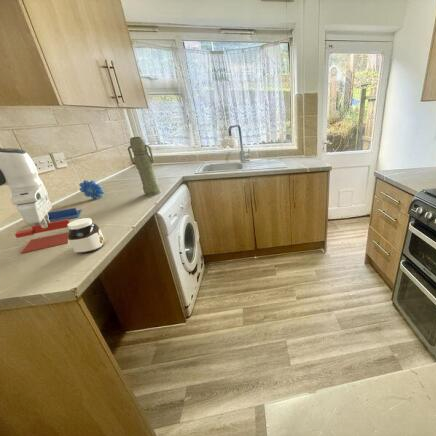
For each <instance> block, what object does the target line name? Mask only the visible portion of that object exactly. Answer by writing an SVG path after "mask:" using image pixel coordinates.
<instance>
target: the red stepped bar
mask: <svg viewBox="0 0 436 436" xmlns="http://www.w3.org/2000/svg"><path fill="white" fill-rule="evenodd" d="M70 222H71V221H70V219H65V220H60V221H54V222H49V223H48V225H49V226H48V227H47V228H42V227H41V225H40V224H38V225H35V224H32V225H31V227H30V228H26V229H21V230H18V231H16V233H15V234H14V235H15V238H16V239H19V238H25V237H29V236H33V235H36V234H40V233H44V232H45V233H46V232H49V231H56V230H60V229H66V228H68V226H67V225H68V224H69V223H70Z"/></svg>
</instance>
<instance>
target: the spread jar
mask: <svg viewBox="0 0 436 436" xmlns="http://www.w3.org/2000/svg"><path fill="white" fill-rule="evenodd" d="M67 226H68V227H67V228H68V229H69V230H68V232H69V233H68V243H67V244H68V246H69V247H71V248H72V250H73V252H74V253H76V254H79V255H86V254H91V253H94V252H97V251H99V250H101V249H102V248H103V247H104V245H105V237H104V235H103V232H102V230H101V228H100V226H99V225H97V224H96V223H94V222H93V221H92V219H91V218H90V217H84V218H79V219H78V218H77V219H75V220H73V221H70V223H69V224H68V225H67Z"/></svg>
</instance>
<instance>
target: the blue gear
mask: <svg viewBox="0 0 436 436" xmlns="http://www.w3.org/2000/svg"><path fill="white" fill-rule="evenodd" d="M78 186H79V191H80V192H81V193H83V195H84V196H85V197H87V198H91V199H93V200H96V199H100V198H102V197H103V194H105V191H104V190H103V189H102V185H101V184H99V183H98V184H97V182H96V181H94V180H90V181H89V180H87V179H84V180H83V181H82V182H79V184H78Z"/></svg>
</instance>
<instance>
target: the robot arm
mask: <svg viewBox="0 0 436 436" xmlns="http://www.w3.org/2000/svg"><path fill="white" fill-rule="evenodd" d="M3 186H7V187H9V190H10V191H11V198H10V202H11V203H12V205H13V206H16V209H17V212H18V213H19V215H20V216H21V218H22V219H23V221H24V223H26V224H27V225H35V224H36V223H39V224H40V225H41V227H42V228H47V227H48V226H49V225H48V223H49V222H50V221H49V216H48V212H51V210H52V208H53V203H52V202H51V199H50V198H49V196H48V195H49V193H48V190H47V188H46V186H45V183H44V182H43V181H42V179H41V178H40V176H39V171H38V168H37V166H36V164H35V163H34V161H33V159H32V158H31V155H29V153H28V152H27V151H25V150H23V149H20V148H12V147H11V148H10V147H9V148H7V147H6V148H5V147H4V148H3V147H1V146H0V187H3Z"/></svg>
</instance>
